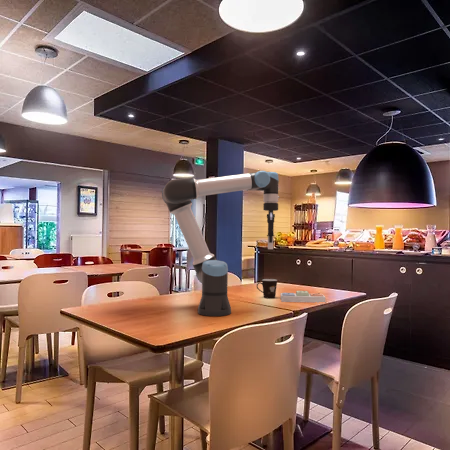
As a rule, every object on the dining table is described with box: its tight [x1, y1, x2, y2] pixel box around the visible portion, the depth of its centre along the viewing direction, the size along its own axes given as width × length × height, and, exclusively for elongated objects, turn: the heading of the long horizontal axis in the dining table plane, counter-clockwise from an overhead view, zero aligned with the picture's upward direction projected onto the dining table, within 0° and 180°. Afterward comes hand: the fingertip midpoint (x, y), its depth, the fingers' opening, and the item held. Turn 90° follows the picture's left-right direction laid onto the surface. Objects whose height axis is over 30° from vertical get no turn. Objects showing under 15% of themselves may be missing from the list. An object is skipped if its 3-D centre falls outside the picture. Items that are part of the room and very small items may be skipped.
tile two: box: [295, 290, 310, 296], centre depth 212 cm, size 6×6×3 cm
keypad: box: [279, 292, 326, 304], centre depth 211 cm, size 23×10×3 cm, turn 86°
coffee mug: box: [256, 278, 278, 300], centre depth 220 cm, size 12×9×10 cm
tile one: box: [281, 292, 295, 296], centre depth 212 cm, size 6×6×3 cm
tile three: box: [309, 292, 324, 296], centre depth 211 cm, size 6×6×3 cm
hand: (270, 249), depth 197 cm, fingers closed
